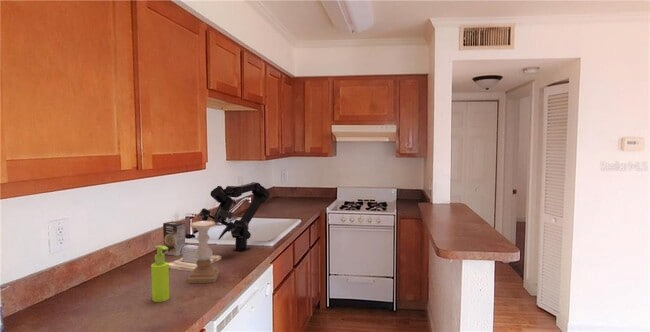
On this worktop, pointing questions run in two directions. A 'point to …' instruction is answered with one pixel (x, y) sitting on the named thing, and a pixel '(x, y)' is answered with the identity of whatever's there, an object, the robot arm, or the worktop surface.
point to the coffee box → (174, 237)
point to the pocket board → (189, 264)
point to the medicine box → (189, 254)
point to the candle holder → (203, 255)
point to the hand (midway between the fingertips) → (210, 235)
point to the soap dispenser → (160, 276)
